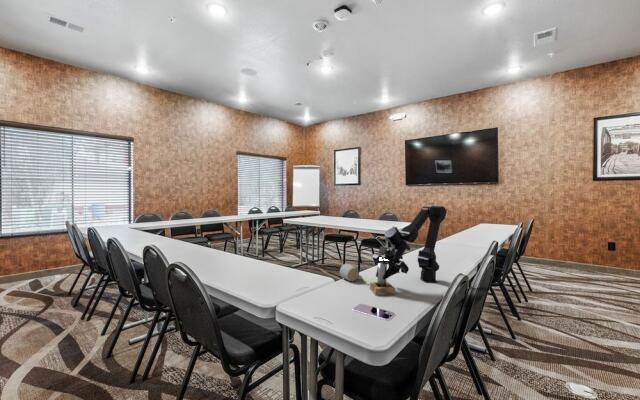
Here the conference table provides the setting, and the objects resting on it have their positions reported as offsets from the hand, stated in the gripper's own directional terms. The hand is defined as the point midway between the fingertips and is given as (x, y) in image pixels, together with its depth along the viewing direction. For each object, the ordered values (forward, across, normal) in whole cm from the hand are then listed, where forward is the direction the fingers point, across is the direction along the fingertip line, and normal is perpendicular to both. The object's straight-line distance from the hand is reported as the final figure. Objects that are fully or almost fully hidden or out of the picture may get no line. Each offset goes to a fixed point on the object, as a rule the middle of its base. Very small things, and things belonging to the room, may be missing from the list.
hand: (379, 277), depth 131 cm
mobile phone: (+17, +15, -7) cm, 24 cm away
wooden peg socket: (+4, 0, +6) cm, 7 cm away
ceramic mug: (+4, -22, +6) cm, 23 cm away
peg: (+4, 0, +6) cm, 7 cm away
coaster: (-2, -13, +11) cm, 17 cm away
